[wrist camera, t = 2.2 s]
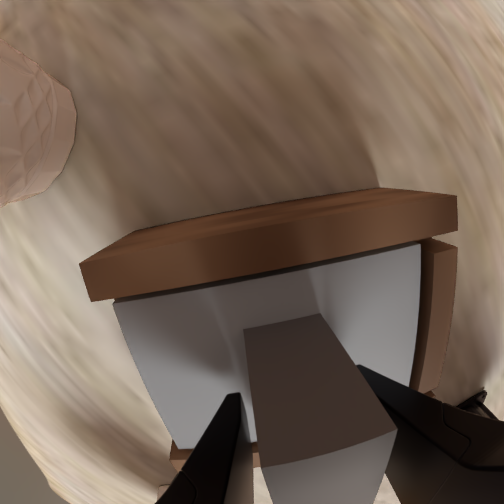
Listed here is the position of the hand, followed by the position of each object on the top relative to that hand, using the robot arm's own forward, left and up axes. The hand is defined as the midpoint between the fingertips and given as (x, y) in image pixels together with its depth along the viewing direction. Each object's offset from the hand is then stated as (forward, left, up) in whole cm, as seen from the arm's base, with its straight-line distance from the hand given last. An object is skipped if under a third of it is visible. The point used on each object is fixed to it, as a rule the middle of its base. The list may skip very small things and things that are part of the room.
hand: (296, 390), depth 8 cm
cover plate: (0, 0, -2) cm, 2 cm away
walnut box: (0, 0, -6) cm, 6 cm away
